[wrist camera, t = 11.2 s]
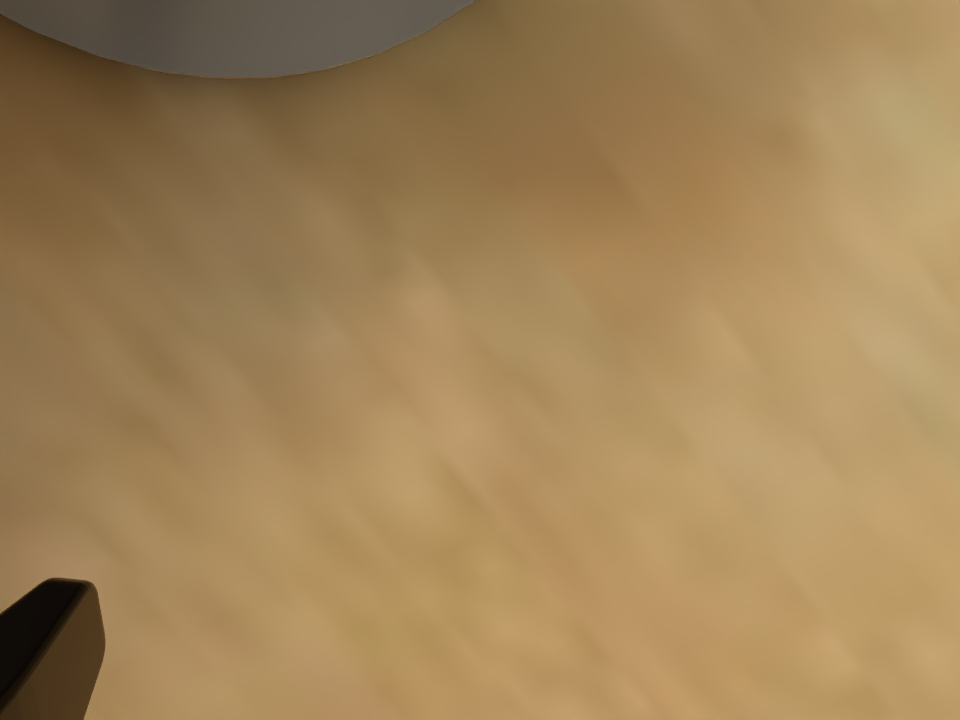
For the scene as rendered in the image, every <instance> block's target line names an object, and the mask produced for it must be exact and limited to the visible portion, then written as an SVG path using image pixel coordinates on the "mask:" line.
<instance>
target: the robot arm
mask: <svg viewBox="0 0 960 720" xmlns="http://www.w3.org/2000/svg"><path fill="white" fill-rule="evenodd" d="M104 652H105V633H104V627H103V621H102V616H101V610H100V604H99V598H98V593H97V590H96V587H95V586H94V584H93V583H91V582H89V581H86V580H76V579H67V578H50V579H47V580H45V581H43V582H42V583H40V584H39V585H37V586H36V587H35V588H33V589H32V590H31V591H30V592H28V593H27V594H26V595H24V596H23V597H22V598H20V599H19V600H18V601H16V602H15V603H14V604H12V605H11V606H10V607H8V608H7V609H6V610H4V611H3V612H2V613H0V720H84V717H85V713H86V710H87V707H88V704H89V701H90V698H91V695H92V692H93V689H94V686H95V683H96V680H97V677H98V674H99V671H100V668H101V665H102V661H103V657H104Z"/></svg>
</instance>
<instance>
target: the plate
mask: <svg viewBox="0 0 960 720" xmlns="http://www.w3.org/2000/svg"><path fill="white" fill-rule="evenodd" d="M474 1H475V0H0V14H1V15H3V16H5V17H7V18H9V19H11V20H13V21H14V22H16V23H18V24H20V25H22V26H24V27H26V28H28V29H30V30H32V31H34V32H37V33H39V34H42V35H44V36H47V37H50V38H52V39H55V40H57V41H60V42H63V43H65V44H68V45H70V46H73V47H76V48H78V49H81V50H83V51H86V52H88V53H91V54H94V55H96V56H99V57H102V58H106V59H110V60H114V61H118V62H122V63H126V64H129V65H133V66H137V67H141V68H145V69H149V70H153V71H157V72H162V73H171V74H179V75H187V76H195V77H204V78H212V79H267V78H278V77H285V76H291V75H298V74H305V73H312V72H319V71H325V70H328V69H332V68H335V67H338V66H342V65H345V64H349V63H352V62H356V61H359V60H362V59H366V58H369V57H373V56H375V55H377V54H380V53H382V52H384V51H386V50H389V49H391V48H393V47H395V46H397V45H400V44H402V43H404V42H406V41H408V40H411V39H413V38H415V37H417V36H420V35H422V34H423V33H425V32H427V31H429V30H430V29H432V28H433V27H435V26H436V25H438V24H440V23H441V22H443V21H444V20H446V19H448V18H449V17H451V16H452V15H454V14H455V13H457V12H459V11H460V10H462V9H463V8H465V7H466V6H468V5H470V4H471V3H473V2H474Z"/></svg>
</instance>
